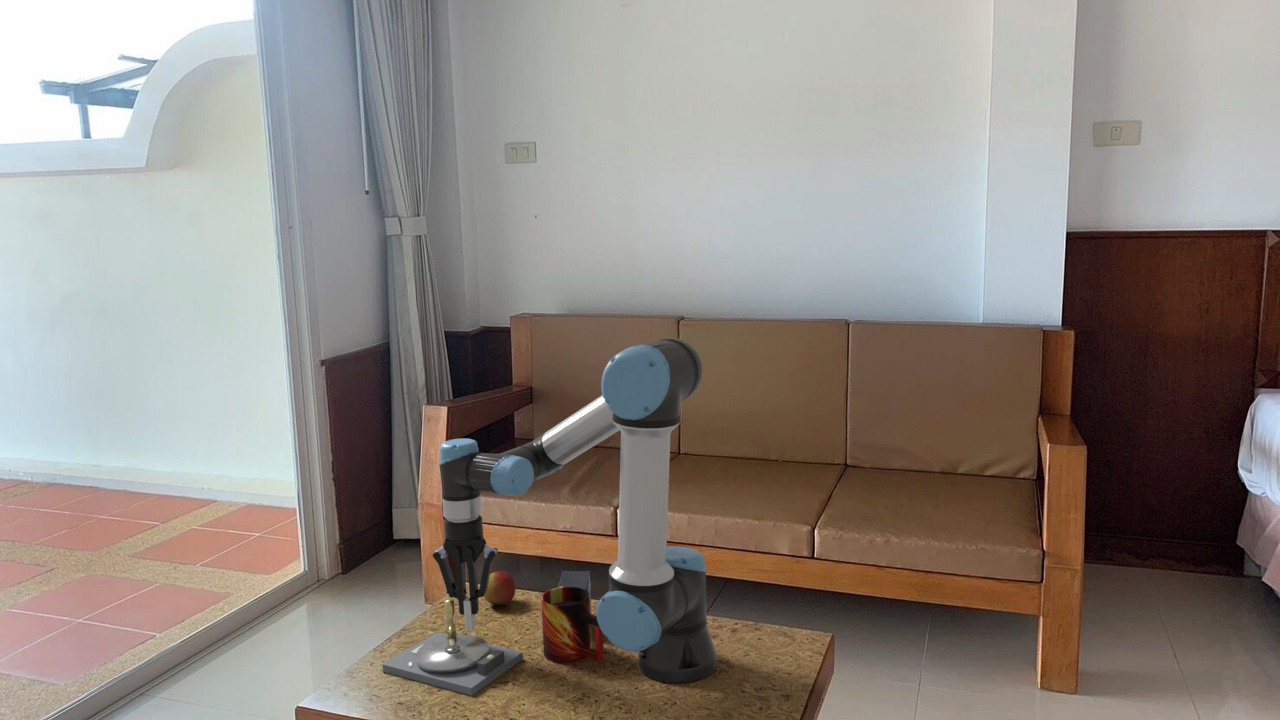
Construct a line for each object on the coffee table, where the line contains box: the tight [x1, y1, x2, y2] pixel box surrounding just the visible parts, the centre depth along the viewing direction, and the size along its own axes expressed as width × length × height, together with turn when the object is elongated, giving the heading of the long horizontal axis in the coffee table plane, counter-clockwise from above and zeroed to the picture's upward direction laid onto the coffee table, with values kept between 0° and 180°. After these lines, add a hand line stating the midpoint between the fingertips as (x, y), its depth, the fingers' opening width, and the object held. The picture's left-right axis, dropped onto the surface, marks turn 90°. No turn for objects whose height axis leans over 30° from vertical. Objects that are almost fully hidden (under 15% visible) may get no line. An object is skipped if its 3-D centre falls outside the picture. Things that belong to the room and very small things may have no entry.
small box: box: [557, 570, 592, 614], centre depth 199 cm, size 11×6×10 cm, turn 179°
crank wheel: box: [416, 597, 489, 673], centre depth 182 cm, size 14×14×9 cm
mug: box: [540, 587, 605, 665], centre depth 186 cm, size 10×14×12 cm
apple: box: [483, 570, 516, 606], centre depth 211 cm, size 8×8×8 cm
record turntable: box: [382, 631, 524, 697], centre depth 183 cm, size 22×16×4 cm
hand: (470, 628), depth 188 cm, fingers closed
